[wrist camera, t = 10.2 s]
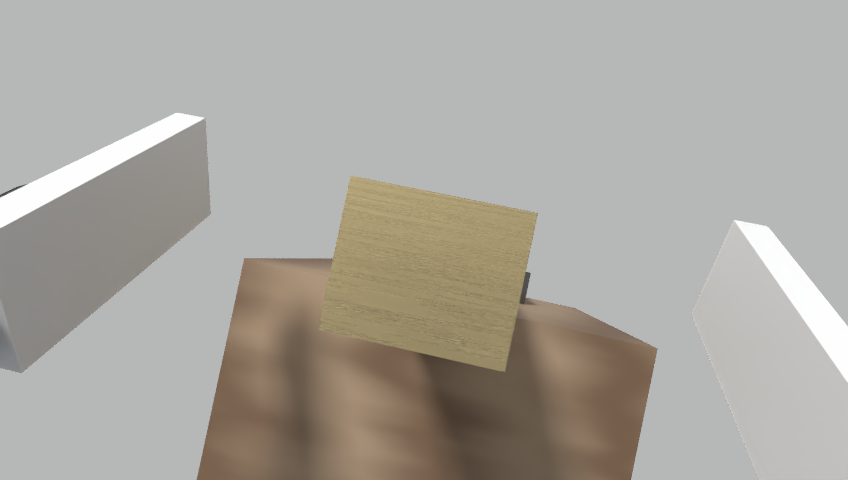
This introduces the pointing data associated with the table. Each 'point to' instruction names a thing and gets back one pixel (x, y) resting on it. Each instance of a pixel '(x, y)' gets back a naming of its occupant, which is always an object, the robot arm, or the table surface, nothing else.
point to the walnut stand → (417, 396)
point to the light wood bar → (428, 272)
